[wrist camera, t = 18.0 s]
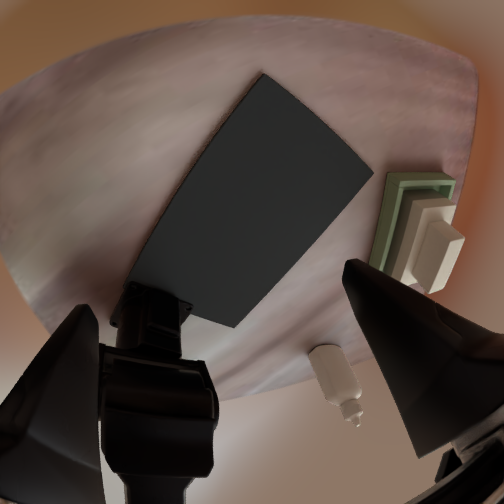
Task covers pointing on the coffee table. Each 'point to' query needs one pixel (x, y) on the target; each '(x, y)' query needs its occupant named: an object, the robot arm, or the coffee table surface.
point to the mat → (250, 206)
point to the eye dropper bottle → (337, 380)
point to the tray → (392, 204)
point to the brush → (423, 240)
